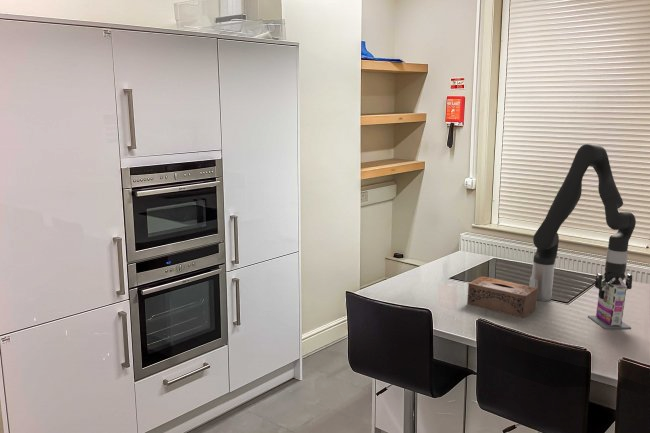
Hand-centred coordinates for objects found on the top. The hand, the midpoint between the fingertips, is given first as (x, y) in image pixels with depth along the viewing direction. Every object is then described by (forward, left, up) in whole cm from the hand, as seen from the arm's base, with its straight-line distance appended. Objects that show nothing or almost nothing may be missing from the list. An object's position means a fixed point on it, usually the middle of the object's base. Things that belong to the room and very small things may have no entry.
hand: (611, 298), depth 227 cm
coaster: (0, 0, -11) cm, 11 cm away
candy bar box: (0, 0, -10) cm, 10 cm away
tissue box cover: (-38, +20, -11) cm, 44 cm away
